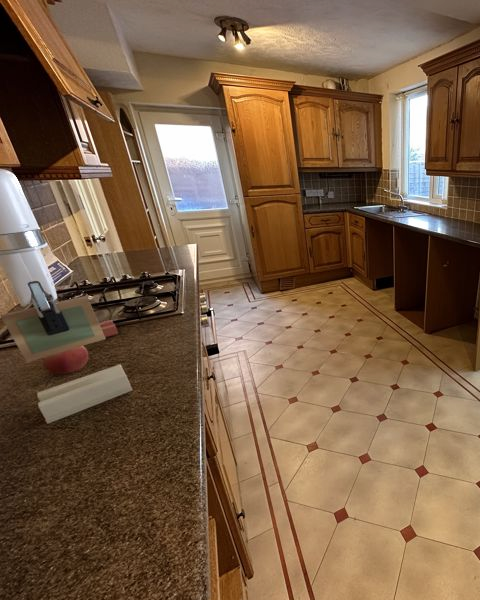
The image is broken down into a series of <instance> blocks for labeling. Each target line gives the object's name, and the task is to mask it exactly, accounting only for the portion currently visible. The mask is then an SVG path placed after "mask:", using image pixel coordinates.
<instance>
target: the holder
mask: <svg viewBox="0 0 480 600" xmlns="http://www.w3.org/2000/svg"><path fill="white" fill-rule="evenodd" d="M132 391H133V388H132V386H131V383H130V380H129V378H128V376H127V374H126V372H125V371H124V369H123V367H122V365H121V364H116V365H114V366H111V367H108V368H105V369H102V370H100V371H97V372H93V373H90V374H88V375H85V376H82V377H79V378H76V379H74V380H71V381H67V382H65V383H61V384H59V385H56V386H53V387H49V388H47V389H44V390H41V391H37V392H36V396H37V397H36V398H37V399H38V402H37V405H38V409H39V411H40V412H41V414H42V416H43V418H44V421H45V422H46V424H47V425H48V424H51V423H54V422H56V421H60V420H61V419H65V418H67V417H69V416H71V415H75V414H76V413H79V412H81V411H84V410H88V409H90V408H92V407H94V406H97V405H100V404H101V403H104V402H107V401H109V400H112V399H115V398H117V397H119V396H122V395H125V394H127V393H130V392H132Z"/></svg>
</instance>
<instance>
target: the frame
mask: <svg viewBox="0 0 480 600" xmlns="http://www.w3.org/2000/svg"><path fill="white" fill-rule="evenodd" d="M55 302H56V301H55ZM56 306H57V308H58V310H59V312H62V314H63V316H64V318H65V320H66V322H67V324H68V326H69V331H66V332H62V333H58V334H54V335H50V336H49V335H47V333H46V331H45V329H44V327H43V325H42V323H41V321H40V319H39V317H40V316H39V314H38V312H37V310H36V308H35V306H33V307H29V308H24V309H19V310H16V311H15V310H14V311H11V312H6V313H2V314H0V318H1V320H2V321H3V323H4V325H5V327H6V329H7V330H8V332H9V334H10V336H11V337H12V339H13V341H14V343H15V344H16V346H17V348H18V350H19V351H20V354H21V355H22V357H23V358H24V360H25V362H26V363H30V362H34V361H37V360H41V359H44V357H47V356H51V355H54V354H57V353H61V352H64V351H67V350H71V349H74V348H77V347H81V346H84V347H85V346H87V345H91V344H94V343H97V342H100V341H104V340H106V338H107V337H105V336H104V334H103V331H102V329H101V327H100V325H99V323H100V322H99V320H98V318H97V316H96V313H95V311H94V309H93V306H92V304H91V301H90V299H89V297H88V296H87V295H83V296H79V297H75V298H69V299H64V300H61V301H57V302H56Z"/></svg>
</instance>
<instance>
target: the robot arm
mask: <svg viewBox="0 0 480 600" xmlns="http://www.w3.org/2000/svg"><path fill="white" fill-rule="evenodd" d="M46 247H48V244H47V242H46V240H45V236H44V234H43V233H42V230H41V228H40V226H39V224H38V222H37V220H36V217H35V215H34V212H33V210H32V209H31V206H30V204H29V202H28V199H27V198H26V195H25V194H24V191H23V189H22V186H21V184H20V182H19V180H18V178H17V177H16V175H15V174H14V173H13V172H11V171H10V170H7V169H4V168H0V265H1V267H2V270H3V272H4V274H5V276H6V279H7V280H8V282H9V284H10V286H11V288H12V290H13V292H14V294H15V296H16V298H17V300H18V302H19V305H20V306H21V307H23V308H26V307H28V305H31V303H32V305H33V307H35V308H36V310H37V312H38V314H39V316H40V317H39V319H40V321H41V323H42V325H43V327H44V329H45V331H46V333H47V335H49V336H50V335H54V334H58V333H62V332H66V331H69V326H68V324H67V322H66V320H65V318H64V316H63V314H62V312H59V310H58V308H57V306H56V300H58V294H57V289H56V286H55V283H54V280H53V277H52V274H51V272H50V270H49V267H48V264H47V262H46V260H45V258H44V256H43V253H42V251H41V249H43V248H46Z"/></svg>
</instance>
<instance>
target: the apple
mask: <svg viewBox="0 0 480 600" xmlns="http://www.w3.org/2000/svg"><path fill="white" fill-rule="evenodd" d="M88 361H89V351H88V349H87V347H85V345H84V346H81V347H77V348H74V349H71V350H67V351H64V352H61V353H57V354H54V355H51V356H47V357H44V358H42V364H43V366H44V368H45V369H46V370H47V371H48V372H50V373H51V374H54V375H67V374H70V373H73V372H77V371H79V370H80V369H83V368H84V367H85V366H86V364H87V363H88Z"/></svg>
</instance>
